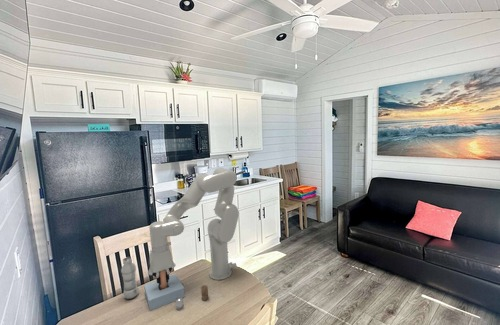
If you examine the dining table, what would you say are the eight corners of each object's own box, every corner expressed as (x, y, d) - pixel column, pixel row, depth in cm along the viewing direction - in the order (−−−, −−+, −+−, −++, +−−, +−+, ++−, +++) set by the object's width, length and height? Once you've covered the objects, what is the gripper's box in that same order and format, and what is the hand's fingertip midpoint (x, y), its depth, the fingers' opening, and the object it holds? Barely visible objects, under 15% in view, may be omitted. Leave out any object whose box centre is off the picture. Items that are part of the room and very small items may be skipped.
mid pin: (207, 295, 122) (206, 284, 121) (209, 299, 119) (208, 287, 118) (200, 298, 120) (200, 286, 119) (203, 302, 117) (202, 290, 116)
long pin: (166, 289, 125) (164, 266, 123) (168, 292, 122) (166, 269, 121) (160, 291, 123) (157, 268, 122) (161, 294, 121) (159, 272, 119)
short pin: (182, 304, 116) (181, 295, 116) (184, 308, 114) (183, 299, 113) (175, 307, 115) (174, 298, 114) (177, 311, 112) (176, 302, 111)
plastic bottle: (121, 298, 122) (116, 260, 119) (133, 290, 128) (128, 254, 125) (129, 302, 119) (125, 263, 116) (141, 293, 125) (137, 256, 122)
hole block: (176, 282, 133) (176, 274, 132) (184, 297, 121) (183, 287, 121) (145, 293, 125) (144, 284, 124) (150, 310, 113) (148, 300, 112)
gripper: (174, 240, 127) (177, 273, 130) (140, 249, 119) (144, 284, 121) (178, 245, 121) (181, 280, 123) (142, 255, 112) (146, 292, 115)
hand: (163, 282), depth 122 cm, fingers closed on long pin, 3 cm apart
